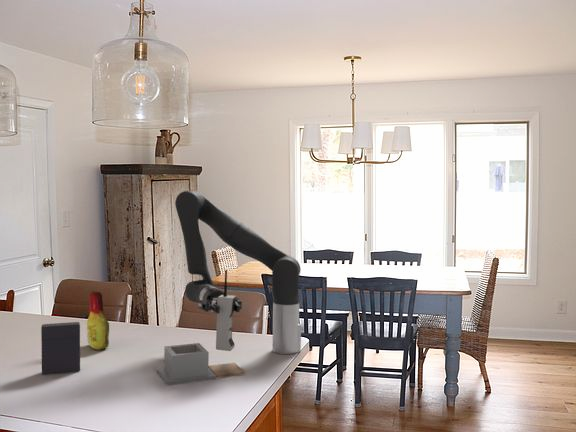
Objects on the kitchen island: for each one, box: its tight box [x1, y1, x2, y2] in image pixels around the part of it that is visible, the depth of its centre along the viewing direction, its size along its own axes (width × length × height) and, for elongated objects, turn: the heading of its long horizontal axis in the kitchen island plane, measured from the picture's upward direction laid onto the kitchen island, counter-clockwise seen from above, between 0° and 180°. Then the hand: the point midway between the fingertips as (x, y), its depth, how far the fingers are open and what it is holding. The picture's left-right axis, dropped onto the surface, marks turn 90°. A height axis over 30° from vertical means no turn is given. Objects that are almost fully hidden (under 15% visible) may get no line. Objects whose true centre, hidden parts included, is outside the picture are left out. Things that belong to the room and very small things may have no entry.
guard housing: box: [156, 342, 217, 386], centre depth 177 cm, size 15×14×8 cm
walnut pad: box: [208, 362, 246, 379], centre depth 181 cm, size 9×10×1 cm
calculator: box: [40, 321, 81, 376], centre depth 178 cm, size 11×4×15 cm, turn 111°
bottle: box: [86, 291, 110, 351], centre depth 205 cm, size 12×6×20 cm, turn 39°
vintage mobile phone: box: [215, 269, 237, 352], centre depth 180 cm, size 4×5×25 cm
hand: (228, 309), depth 178 cm, fingers closed on vintage mobile phone, 6 cm apart
